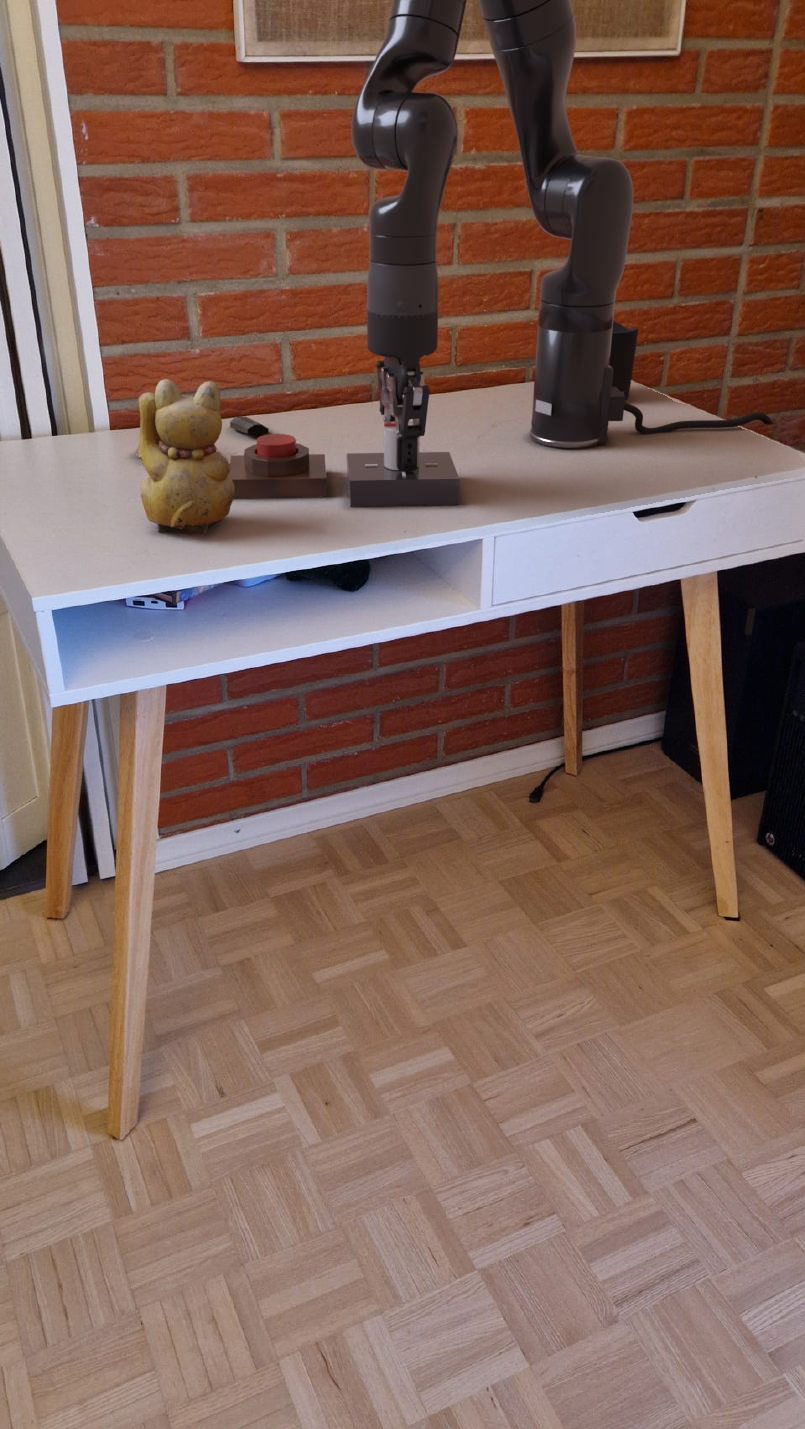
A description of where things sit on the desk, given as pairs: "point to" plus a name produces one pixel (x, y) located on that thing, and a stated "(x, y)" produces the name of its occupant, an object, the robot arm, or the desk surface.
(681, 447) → the desk surface
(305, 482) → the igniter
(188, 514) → the decorative figurine
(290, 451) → the button
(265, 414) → the desk surface
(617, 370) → the dark upright prism
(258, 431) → the block
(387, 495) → the panel
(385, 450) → the knob
